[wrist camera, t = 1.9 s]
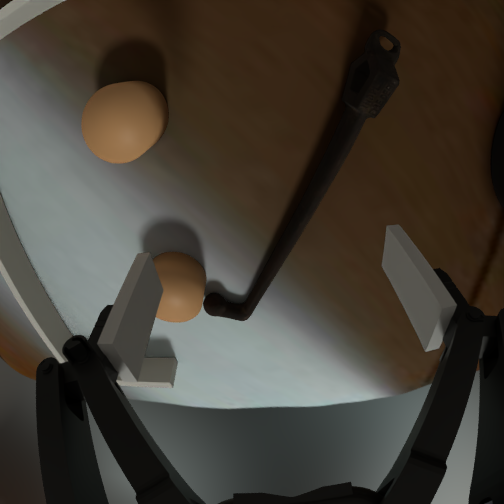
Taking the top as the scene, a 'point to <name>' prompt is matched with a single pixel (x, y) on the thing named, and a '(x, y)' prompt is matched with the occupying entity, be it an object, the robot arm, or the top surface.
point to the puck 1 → (124, 120)
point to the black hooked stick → (327, 160)
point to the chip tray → (19, 268)
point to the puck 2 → (179, 286)
